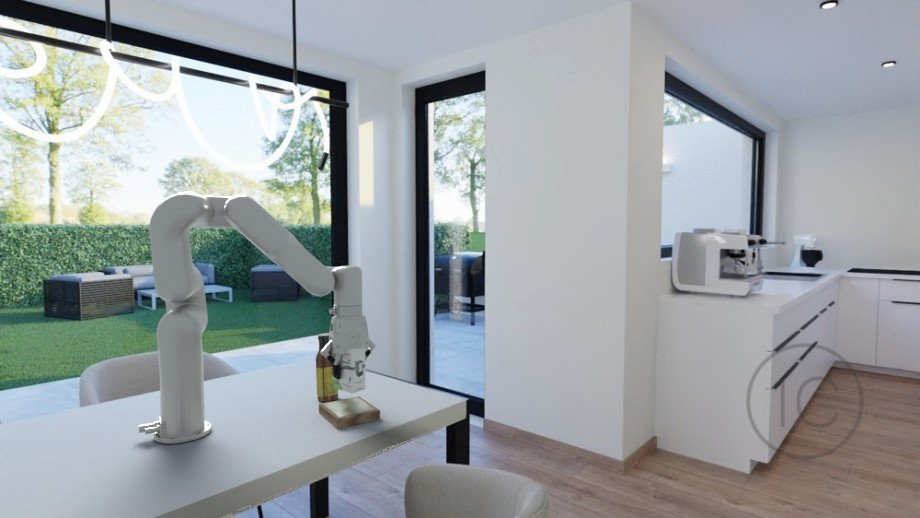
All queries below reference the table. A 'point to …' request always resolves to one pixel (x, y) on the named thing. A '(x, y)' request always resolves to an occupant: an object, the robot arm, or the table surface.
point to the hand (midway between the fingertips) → (349, 375)
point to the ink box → (351, 371)
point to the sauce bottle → (324, 373)
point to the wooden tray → (349, 412)
